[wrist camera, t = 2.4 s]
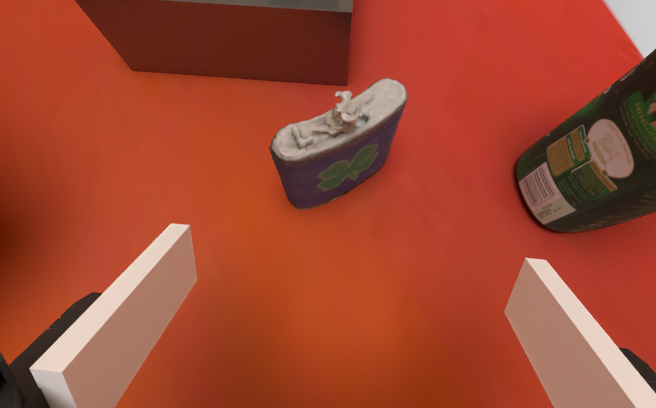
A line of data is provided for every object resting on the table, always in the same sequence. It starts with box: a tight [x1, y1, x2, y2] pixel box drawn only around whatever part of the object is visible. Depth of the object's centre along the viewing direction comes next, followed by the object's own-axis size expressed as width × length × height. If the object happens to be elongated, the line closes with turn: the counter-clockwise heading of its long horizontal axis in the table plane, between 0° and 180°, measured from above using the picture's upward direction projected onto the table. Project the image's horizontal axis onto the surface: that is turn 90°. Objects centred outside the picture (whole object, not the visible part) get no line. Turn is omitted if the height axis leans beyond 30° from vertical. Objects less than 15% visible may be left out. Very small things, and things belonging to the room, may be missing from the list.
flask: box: [269, 78, 408, 210], centre depth 23 cm, size 9×3×11 cm, turn 120°
